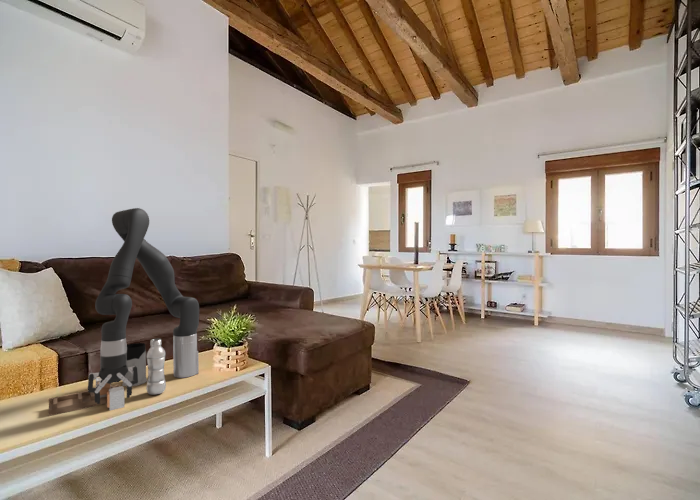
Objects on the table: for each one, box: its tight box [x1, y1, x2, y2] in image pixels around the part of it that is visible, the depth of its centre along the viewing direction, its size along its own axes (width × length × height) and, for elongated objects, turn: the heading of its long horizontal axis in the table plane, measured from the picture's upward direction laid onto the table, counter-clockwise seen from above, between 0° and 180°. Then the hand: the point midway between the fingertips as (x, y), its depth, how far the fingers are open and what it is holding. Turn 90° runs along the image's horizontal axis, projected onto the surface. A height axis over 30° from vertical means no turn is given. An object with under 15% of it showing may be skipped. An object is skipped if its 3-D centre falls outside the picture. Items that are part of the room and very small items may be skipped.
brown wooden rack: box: [47, 376, 120, 417], centre depth 126 cm, size 20×7×8 cm, turn 129°
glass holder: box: [121, 342, 148, 387], centre depth 146 cm, size 9×14×15 cm, turn 112°
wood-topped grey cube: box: [105, 385, 125, 411], centre depth 124 cm, size 4×5×6 cm
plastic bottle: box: [146, 338, 167, 396], centre depth 135 cm, size 6×7×20 cm
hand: (113, 400), depth 124 cm, fingers open, 8 cm apart
